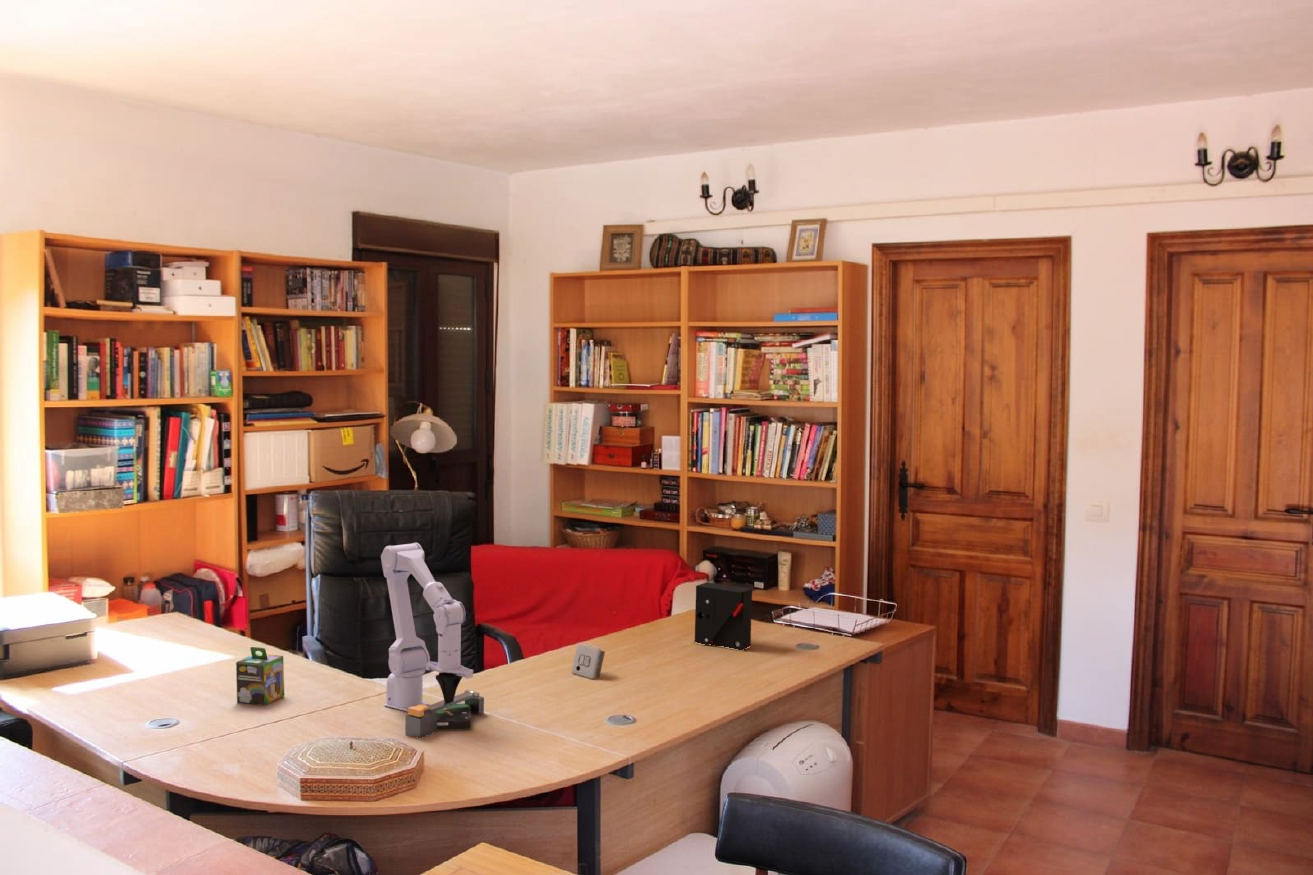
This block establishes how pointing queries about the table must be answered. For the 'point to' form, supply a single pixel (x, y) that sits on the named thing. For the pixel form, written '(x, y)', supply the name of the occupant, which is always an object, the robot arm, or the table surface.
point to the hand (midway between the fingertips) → (449, 701)
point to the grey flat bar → (457, 699)
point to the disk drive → (454, 717)
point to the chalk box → (260, 678)
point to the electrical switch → (588, 661)
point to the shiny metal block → (429, 720)
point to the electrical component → (723, 615)
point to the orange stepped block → (417, 710)
